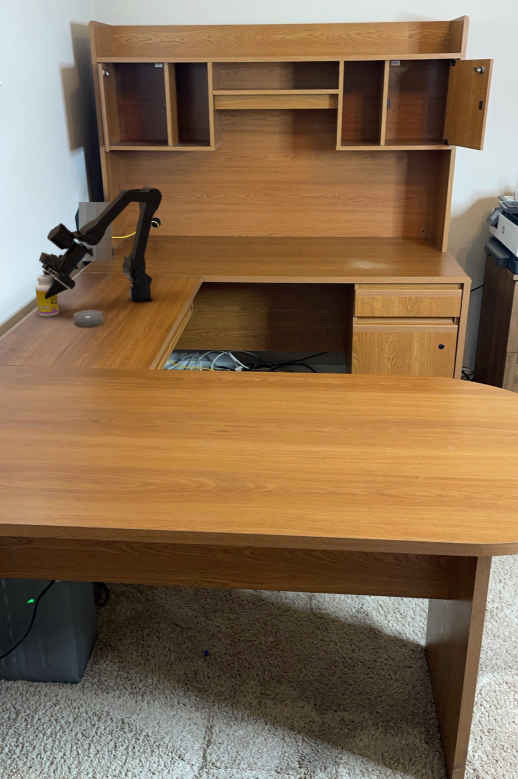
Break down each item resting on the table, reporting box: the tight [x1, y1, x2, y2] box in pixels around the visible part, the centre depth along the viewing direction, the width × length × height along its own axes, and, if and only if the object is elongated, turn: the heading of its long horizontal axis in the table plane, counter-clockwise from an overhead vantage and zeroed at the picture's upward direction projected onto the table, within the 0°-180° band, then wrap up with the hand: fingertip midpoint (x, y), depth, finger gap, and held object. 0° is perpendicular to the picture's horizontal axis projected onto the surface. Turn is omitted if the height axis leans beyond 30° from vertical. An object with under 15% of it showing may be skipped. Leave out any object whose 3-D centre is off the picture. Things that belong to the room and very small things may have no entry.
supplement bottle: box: [35, 274, 60, 318], centre depth 235 cm, size 7×7×13 cm
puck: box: [73, 309, 104, 328], centre depth 228 cm, size 9×9×3 cm
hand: (42, 295), depth 234 cm, fingers closed on supplement bottle, 6 cm apart
